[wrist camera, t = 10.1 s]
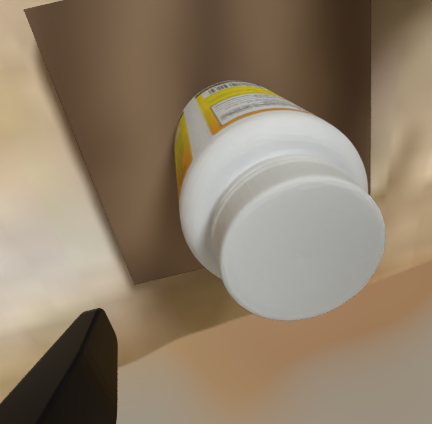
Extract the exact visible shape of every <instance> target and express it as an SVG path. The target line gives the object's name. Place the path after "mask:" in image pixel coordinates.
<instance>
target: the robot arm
mask: <svg viewBox="0 0 432 424" xmlns="http://www.w3.org/2000/svg"><path fill="white" fill-rule="evenodd" d="M117 358H118V344H117V337H116V334H115V332H114V330H113V328H112V325H111V323H110V321H109V319H108V317H107V315H106V313H105V311H104V310H103V309H101V308H97V309H93V310H89V311H85V312H83V313H82V314H80V315H79V317H78V318H77V319H76V320H75V321H74V322H73V323H72V324H71V326H70V327H69V328H68V329H67V330H66V331H65V332H64V333H63V334H62V336H61V337H60V338H59V339H58V340H57V341H56V342H55V343H54V344H53V346H52V347H51V348H50V349H49V350H48V351H47V352H46V353H45V354H44V356H43V357H42V358H41V359H40V360H39V361H38V362H37V363H36V365H35V366H34V367H33V368H32V369H31V370H30V371H29V372H28V373H27V375H26V376H25V377H24V378H23V379H22V380H21V381H20V382H19V383H18V385H17V386H16V387H15V388H14V389H13V390H12V391H11V392H10V393H9V395H8V396H7V397H6V398H5V399H4V400H3V401H2V402H1V403H0V424H116V419H117Z"/></svg>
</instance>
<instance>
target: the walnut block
mask: <svg viewBox="0 0 432 424" xmlns="http://www.w3.org/2000/svg"><path fill="white" fill-rule="evenodd" d="M24 12H25V14H26V17H27V19H28V22H29V24H30V27H31V29H32V32H33V34H34V37H35V39H36V42H37V44H38V47H39V49H40V52H41V54H42V57H43V59H44V61H45V64H46V66H47V69H48V71H49V74H50V76H51V79H52V81H53V84H54V86H55V89H56V91H57V94H58V96H59V99H60V101H61V104H62V106H63V109H64V111H65V113H66V116H67V118H68V121H69V123H70V126H71V128H72V131H73V133H74V136H75V138H76V141H77V143H78V146H79V148H80V151H81V153H82V156H83V158H84V161H85V163H86V165H87V168H88V170H89V173H90V175H91V178H92V180H93V183H94V185H95V188H96V190H97V193H98V195H99V198H100V200H101V203H102V205H103V208H104V210H105V213H106V215H107V218H108V220H109V222H110V225H111V227H112V230H113V232H114V235H115V237H116V240H117V242H118V245H119V247H120V250H121V252H122V255H123V257H124V260H125V262H126V265H127V267H128V270H129V272H130V274H131V277H132V279H133V282H134V284H140V283H144V282H148V281H152V280H156V279H160V278H164V277H168V276H172V275H177V274H181V273H185V272H189V271H193V270H197V269H201V268H205V267H204V266H203V265H202V264H201V263H200V262H199V261H198V260H197V259H196V257H195V256H194V254H193V253H192V251H191V250H190V248H189V246H188V244H187V242H186V240H185V237H184V234H183V231H182V227H181V221H180V213H179V201H178V189H177V176H176V163H175V151H174V138H175V130H176V126H177V123H178V120H179V117H180V115H181V113H182V111H183V110H184V108H185V107H186V105H187V104H188V103H189V102H190V100H191V99H192V98H193V97H194V96H196V95H197V94H198V93H199V92H201V91H202V90H204V89H205V88H207V87H209V86H211V85H214V84H216V83H220V82H224V81H230V80H240V81H247V82H251V83H255V84H258V85H260V86H262V87H264V88H266V89H268V90H270V91H271V92H273V93H275V94H277V95H279V96H281V97H283V98H284V99H286V100H288V101H290V102H292V103H294V104H295V105H297V106H299V107H301V108H303V109H304V110H306V111H308V112H310V113H312V114H314V115H315V116H317V117H319V118H321V119H323V120H325V121H326V122H328V123H329V124H331V125H333V126H334V127H335V128H337V129H338V130H339V131H340V132H341V133H343V134H344V135H345V136H346V137H347V138H348V139H349V140H350V142H351V143H352V144H353V146H354V147H355V148H356V150H357V152H358V154H359V156H360V158H361V160H362V162H363V165H364V168H365V171H366V175H367V182H368V194H369V195H370V152H371V0H63V1H58V2H54V3H50V4H45V5H41V6H37V7H32V8H28V9H24Z"/></svg>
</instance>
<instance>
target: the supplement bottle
mask: <svg viewBox="0 0 432 424" xmlns="http://www.w3.org/2000/svg"><path fill="white" fill-rule="evenodd" d="M174 151H175V163H176V176H177V189H178V201H179V213H180V221H181V227H182V231H183V234H184V237H185V240H186V242H187V244H188V246H189V248H190V250H191V251H192V253H193V254H194V256H195V257H196V259H197V260H198V261H199V262H200V263H201V264H202V265H203V266H204V267H205V268H206V269H207V270H209V271H210V272H211V273H213V274H214V275H215V276H217V277H219V278H221V279H222V281H223V284H224V286H225V288H226V290H227V291H228V293H229V294H230V295H231V297H232V298H233V299H234V300H235V301H236V302H237V303H238V304H239V305H240V306H242V307H243V308H244V309H246V310H247V311H249V312H251V313H253V314H255V315H258V316H261V317H264V318H268V319H272V320H280V321H295V320H302V319H307V318H312V317H315V316H318V315H321V314H324V313H327V312H329V311H331V310H333V309H335V308H337V307H339V306H340V305H342V304H344V303H345V302H347V301H348V300H349V299H351V298H352V297H354V296H355V295H356V294H357V293H358V292H359V291H360V290H361V289H362V288H363V287H364V286H365V285H366V284H367V283H368V281H369V280H370V278H371V277H372V276H373V274H374V272H375V271H376V269H377V267H378V265H379V263H380V261H381V258H382V255H383V251H384V247H385V237H386V236H385V225H384V220H383V217H382V214H381V212H380V209H379V208H378V206H377V205H376V203H375V202H374V200H373V199H372V198H371V196H370V195H369V194H368V182H367V175H366V171H365V168H364V165H363V162H362V160H361V158H360V156H359V154H358V152H357V150H356V148H355V147H354V146H353V144H352V143H351V142H350V140H349V139H348V138H347V137H346V136H345V135H344V134H343V133H341V132H340V131H339V130H338V129H337V128H335V127H334V126H333V125H331V124H329V123H328V122H326V121H325V120H323V119H321V118H319V117H317V116H315V115H314V114H312V113H310V112H308V111H306V110H304V109H303V108H301V107H299V106H297V105H295V104H294V103H292V102H290V101H288V100H286V99H284V98H283V97H281V96H279V95H277V94H275V93H273V92H271V91H270V90H268V89H266V88H264V87H262V86H260V85H258V84H255V83H251V82H247V81H240V80H230V81H224V82H220V83H216V84H214V85H211V86H209V87H207V88H205V89H204V90H202V91H201V92H199V93H198V94H197V95H196V96H194V97H193V98H192V99H191V100H190V102H189V103H188V104H187V105H186V107H185V108H184V110H183V111H182V113H181V115H180V117H179V120H178V123H177V126H176V130H175V138H174Z"/></svg>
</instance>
